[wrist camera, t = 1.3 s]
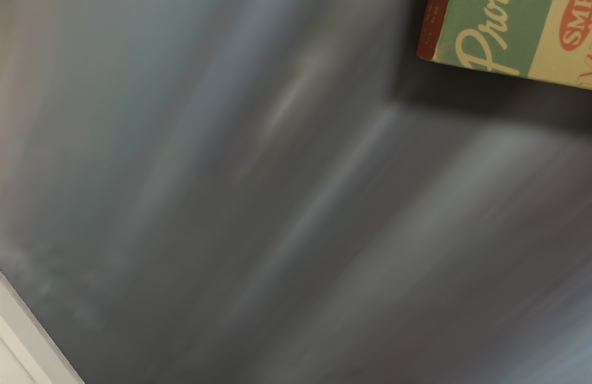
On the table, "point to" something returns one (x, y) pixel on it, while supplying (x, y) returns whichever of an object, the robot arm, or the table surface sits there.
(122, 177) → the table surface
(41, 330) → the tray
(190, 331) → the table surface
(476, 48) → the carton
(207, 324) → the table surface
